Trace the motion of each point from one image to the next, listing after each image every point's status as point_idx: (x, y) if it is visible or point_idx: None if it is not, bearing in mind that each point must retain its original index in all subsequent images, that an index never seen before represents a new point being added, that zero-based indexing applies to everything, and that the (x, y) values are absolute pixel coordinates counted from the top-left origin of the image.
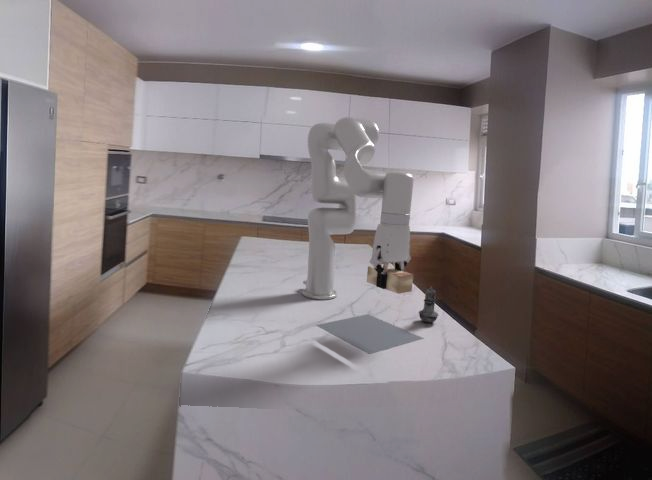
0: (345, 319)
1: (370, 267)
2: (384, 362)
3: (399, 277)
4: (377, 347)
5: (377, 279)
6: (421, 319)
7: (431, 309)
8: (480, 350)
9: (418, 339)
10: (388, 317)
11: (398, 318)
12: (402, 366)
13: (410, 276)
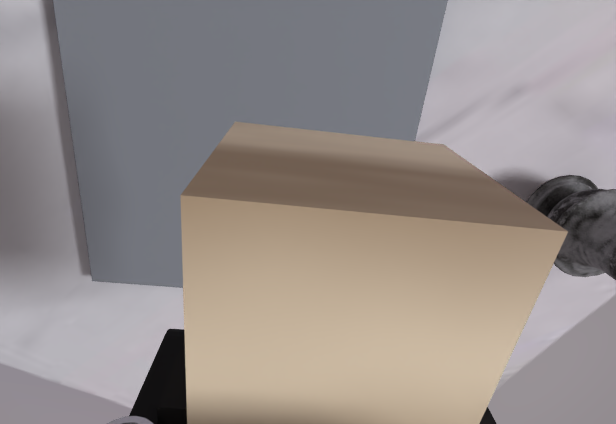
0: None
1: (183, 262)
2: (119, 318)
3: None
4: (156, 262)
5: (154, 366)
6: (552, 209)
7: (601, 270)
8: None
9: None
10: (531, 34)
11: (553, 79)
12: (152, 356)
13: None
